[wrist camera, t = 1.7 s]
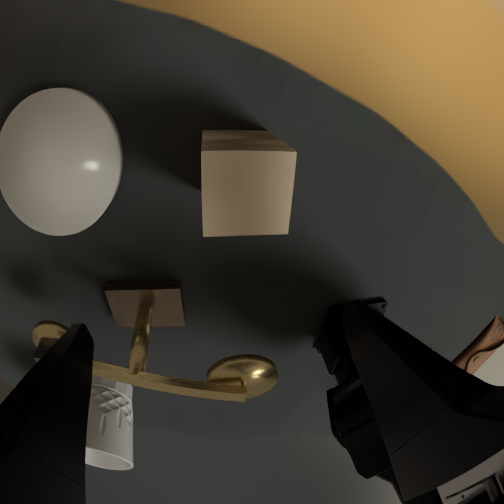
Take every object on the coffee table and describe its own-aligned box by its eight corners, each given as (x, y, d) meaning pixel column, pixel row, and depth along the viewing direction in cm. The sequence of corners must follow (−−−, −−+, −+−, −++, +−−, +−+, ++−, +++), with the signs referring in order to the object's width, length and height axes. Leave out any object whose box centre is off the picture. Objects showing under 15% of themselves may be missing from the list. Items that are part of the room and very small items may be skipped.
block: (268, 130, 17) (296, 152, 12) (264, 190, 19) (287, 233, 14) (202, 130, 16) (201, 150, 11) (203, 191, 18) (203, 236, 13)
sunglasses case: (498, 312, 36) (517, 337, 32) (493, 308, 41) (510, 330, 38) (430, 379, 43) (448, 402, 39) (433, 369, 48) (449, 389, 45)
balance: (258, 274, 22) (286, 374, 15) (255, 315, 25) (277, 409, 17) (46, 281, 20) (4, 367, 12) (63, 319, 22) (34, 402, 14)
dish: (120, 73, 13) (114, 73, 12) (131, 222, 19) (128, 231, 18) (-2, 107, 12) (-12, 110, 11) (20, 231, 17) (13, 239, 16)
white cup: (71, 356, 25) (51, 437, 17) (139, 372, 27) (133, 457, 19) (78, 391, 29) (67, 459, 20) (136, 403, 31) (133, 474, 23)
